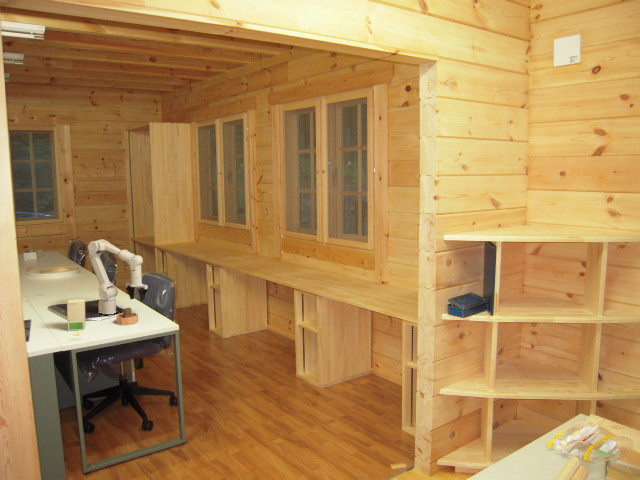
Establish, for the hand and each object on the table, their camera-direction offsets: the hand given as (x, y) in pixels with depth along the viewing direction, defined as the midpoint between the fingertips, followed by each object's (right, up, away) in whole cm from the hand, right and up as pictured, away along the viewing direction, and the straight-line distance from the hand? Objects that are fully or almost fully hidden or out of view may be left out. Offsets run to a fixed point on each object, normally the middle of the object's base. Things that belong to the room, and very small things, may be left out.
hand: (137, 299), depth 313 cm
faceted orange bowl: (-2, -11, -10) cm, 15 cm away
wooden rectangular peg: (-2, -11, -10) cm, 15 cm away
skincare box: (-25, -13, -22) cm, 36 cm away
